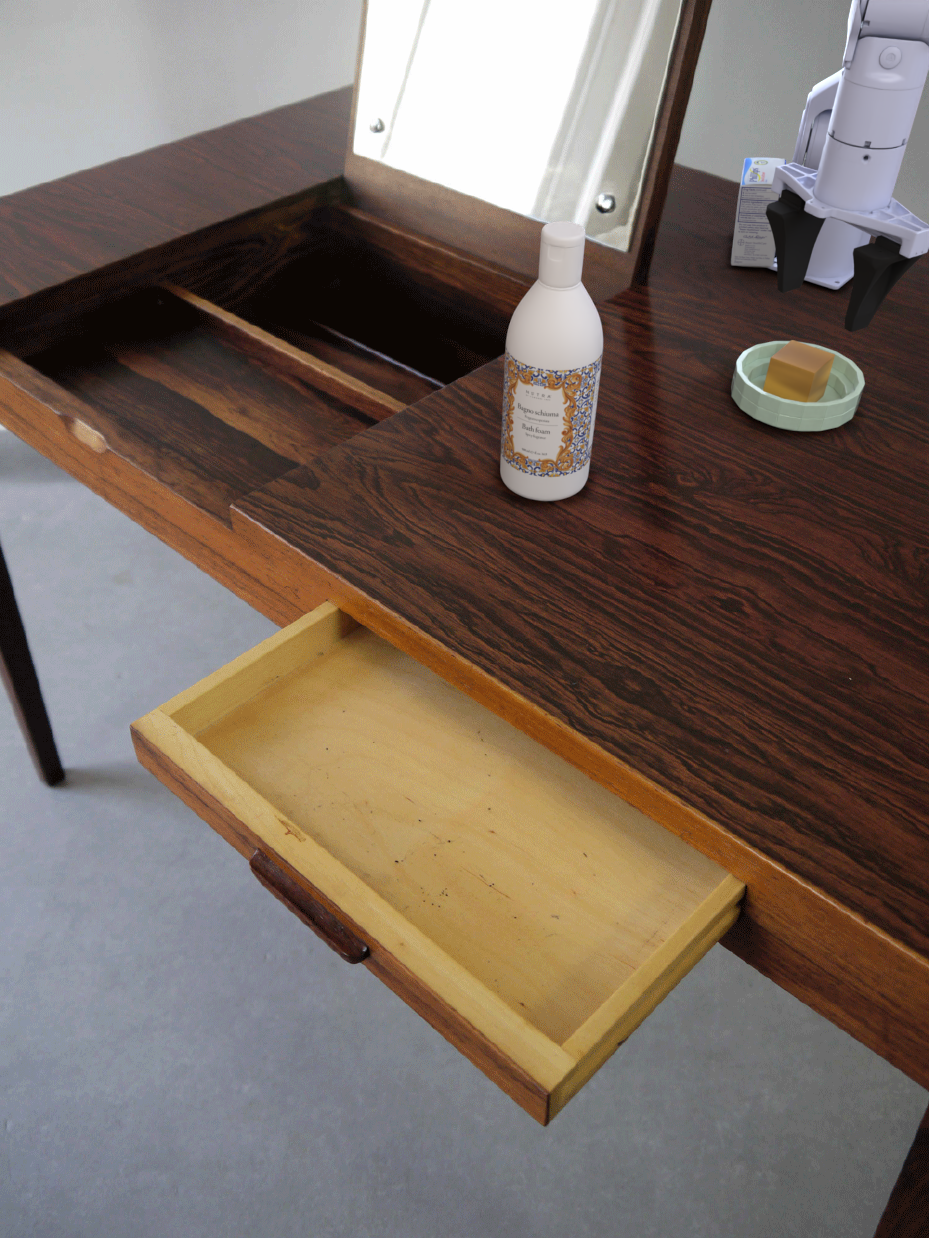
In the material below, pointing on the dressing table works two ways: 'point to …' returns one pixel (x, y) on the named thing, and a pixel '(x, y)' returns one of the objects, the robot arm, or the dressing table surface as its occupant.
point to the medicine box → (755, 214)
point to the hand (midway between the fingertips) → (821, 307)
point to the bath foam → (552, 374)
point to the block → (799, 372)
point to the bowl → (789, 413)
